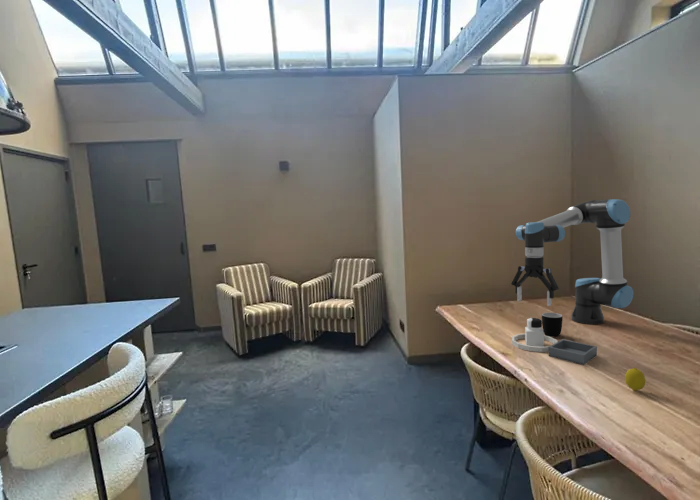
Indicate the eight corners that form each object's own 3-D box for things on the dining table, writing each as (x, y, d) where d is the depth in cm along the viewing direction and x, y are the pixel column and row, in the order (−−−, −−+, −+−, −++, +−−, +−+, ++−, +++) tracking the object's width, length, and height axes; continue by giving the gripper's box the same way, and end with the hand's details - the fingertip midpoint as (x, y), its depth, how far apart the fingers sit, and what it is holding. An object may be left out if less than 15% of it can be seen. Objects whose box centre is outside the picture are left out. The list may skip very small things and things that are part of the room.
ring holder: (524, 334, 191) (524, 331, 191) (565, 343, 176) (565, 339, 176) (504, 344, 179) (504, 340, 179) (546, 355, 165) (546, 350, 164)
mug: (565, 338, 184) (565, 317, 183) (545, 338, 185) (545, 317, 184) (555, 330, 196) (555, 310, 195) (536, 330, 197) (536, 311, 196)
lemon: (620, 387, 133) (621, 365, 132) (635, 386, 134) (636, 364, 133) (633, 395, 128) (634, 372, 127) (649, 393, 128) (650, 370, 127)
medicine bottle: (541, 342, 180) (541, 317, 179) (544, 347, 173) (544, 321, 172) (525, 341, 182) (525, 316, 181) (526, 346, 176) (526, 320, 174)
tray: (562, 347, 172) (562, 339, 171) (596, 355, 161) (597, 346, 161) (548, 356, 163) (548, 347, 163) (583, 365, 153) (584, 355, 152)
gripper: (503, 255, 181) (503, 300, 183) (559, 259, 162) (559, 309, 164) (512, 254, 186) (512, 297, 188) (567, 257, 166) (566, 305, 168)
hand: (533, 303), depth 176 cm, fingers open, 13 cm apart
